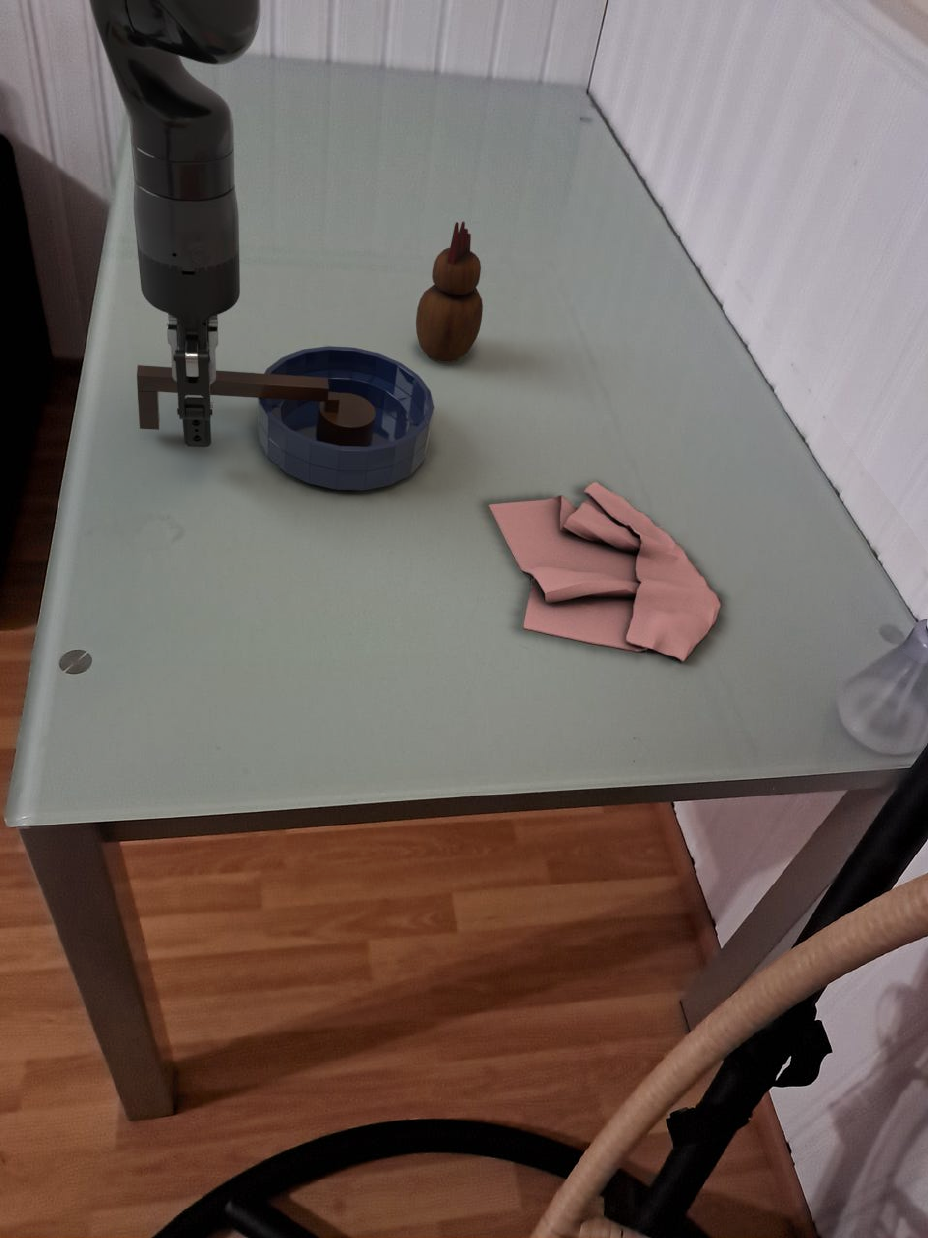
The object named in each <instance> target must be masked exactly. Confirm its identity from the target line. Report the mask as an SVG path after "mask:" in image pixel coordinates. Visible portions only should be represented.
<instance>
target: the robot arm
mask: <svg viewBox="0 0 928 1238" xmlns="http://www.w3.org/2000/svg"><path fill="white" fill-rule="evenodd" d="M261 1H262V0H89V1H88V2H89V5H90V10H91V13H92V16H93V20H94V24H95V27H96V29H97V32H98V35H99V38H100V42H101V44H102V47H103V50H104V53H105V55H106V59H107V61H108V64H109V67H110V69H111V72H112V75H113V78H114V82H115V84H116V88H117V90H118V93H119V96H120V98H121V101H122V103H123V106H124V109H125V112H126V115H127V118H128V123H129V124H128V125H129V135H130V145H131V146H130V147H131V156H132V157H131V158H132V167H133V178H134V187H133V188H134V190H133V191H134V192H133V215H134V216H133V217H134V226H135V235H136V245H137V247H136V248H137V257H138V268H139V269H138V270H139V279H140V288H141V294H142V295H143V297H144V299H145V300H146V302H148V303H149V304H150V305H151V306H152V307H153V308H155V309H156V310H159V311H160V312H162V313H166V314H167V319H168V322H167V323H166V327H167V328H166V334H167V343H168V344H169V345H170V351H171V354H170V355H171V367H172V377H173V379H174V380H175V381H176V382H177V392H178V393H177V407H178V408H176V415H177V416H178V418H179V420H182V429H183V443H184V445H185V446H187V447H189V448H207V447H210V446H211V445H212V429H211V428H212V426H211V418H212V417H211V416H213V406H214V405H213V401H211V400H212V399H211V395H210V385H211V384H212V383H214V382H215V381H216V370H217V359H216V357H217V356H216V354H217V353H216V349H217V348H218V347H219V315H221V314H223V313H226V312H227V311H229V310H230V309H232V308H233V307H234V306H235V305H236V304H237V302H238V301H239V299H240V294H241V286H240V285H241V277H240V275H241V274H240V269H241V268H240V218H239V216H240V215H239V206H238V200H237V193H236V192H237V191H236V184H235V183H236V181H235V178H236V177H235V131H234V129H235V128H234V119H233V113H232V109H231V108H230V106H229V104H228V103H227V101H226V100H225V99H224V98H223V97H222V96H221V95H220V94H219V93H217V92H216V91H215V90H213V89H212V88H210V87H209V86H207V85H205V84H204V83H203V82H202V81H200V80H198V79H197V78H196V77H195V76H193V75H192V74H191V73H190V72H189V70H188V69H186V66H184V63H183V62H182V60H181V57H182V58H185V59H187V60H190V61H194V62H197V63H201V64H204V65H211V66H221V65H228V64H231V63H233V62H234V61H236V60H238V59H240V58H241V57H242V56H243V55H244V54H245V53H246V52H247V51H248V50H249V49H250V47H251V46H252V44H253V43H254V41H255V38H256V37H257V34H258V29H259V27H260V21H261V14H262V13H261V10H262V4H261V3H262V2H261ZM195 396H197V397H195ZM198 396H199V397H198Z"/></svg>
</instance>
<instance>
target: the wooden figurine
mask: <svg viewBox="0 0 928 1238" xmlns="http://www.w3.org/2000/svg"><path fill="white" fill-rule="evenodd" d="M459 224H460V225H459ZM459 227H460V228H459ZM471 241H472V235H471V233H469V229H468V228H466V222H465V221H461V223H459V222H458V221H456V222H455V224H454V229H453V233H452V237H451V241H450V247H446V248H445V249H443V250H441V252H440V253H439V254H437V256H436V258H435V260H434V262H433V266H432V273H431V274H432V275H431V277H432V282H433V285H432V286H430V287H428V289H426V290H425V291H424V292H423V294H422V295H421V297H420V298H419V302H418V304H417V305H418V306H417V309H416V317H415V328H416V329H415V333H416V337H417V340H418V343H419V346H420V349H421V350H422V352H423V353H424V354H425V355H426V356H427V357H428V358H429V359H431V360H433V361H436V362H443V363H446V362H447V363H448V362H449V363H451V362H454V361H455V362H456V361H457V360H460V359H461V358H463V357H465V356H466V355H467V354H468V352H469V351H470V350H471V349H472V347H473V345H474V344H475V343H476V340H477V338H478V335H479V333H480V330H481V326H482V322H483V321H482V320H483V312H484V311H483V310H484V305H483V304H484V303H483V298H482V296H481V294H480V292H479V290H478V289H477V287H478V285H479V283H480V279H481V273H482V272H481V271H482V265H481V259H480V258H479V257H478V255H477V254H476V253H474V252H473V251H472V250H471V244H472V243H471Z"/></svg>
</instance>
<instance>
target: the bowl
mask: <svg viewBox="0 0 928 1238" xmlns="http://www.w3.org/2000/svg"><path fill="white" fill-rule="evenodd" d="M263 374H277V375H291V376H306V377H321V378H328V385H329V392H338V393H350V394H355V395H358V396H360V397H363V398H365V399H366V400H368V401H369V402H370V403H371V404H372V405H373V406H374V408H375V411H376V418H375V424H374V430H373V436H372V441H371V443H370V444H369V445H368V446H367V447H357V446H338V445H334V444H329V443H325V442H321V441H320V439H319V438H318V436H317V433H316V428H317V418H318V409H319V403H320V402H317V401H301V400H284V399H268V398H257V432H258V437H257V438H258V442H259V444H260V447H262V449H263V451H264V453H265V455H266V456H267V458H268V459H269V460H271V461H272V462H273V463H274V464H275V465H276V466H278V467H279V468H280V469H281V470H282V471H283V472H285V473H286V474H288V475H290V476H293V477H295V478H296V479H298V480H300V481H303V482H305V483H307V484H309V485H313V486H314V485H315V486H319V487H323V488H328V489H331V490H332V489H333V490H338V491H367V490H373V489H377V488H382V487H386V486H391V485H394V484H395V483H398V482H399V481H401V480H403V479H406V478H407V477H410V476H411V475H412V474H413V473H414V472H415V471H416V470H417V469H418V468H419V467H420V466H421V464H422V463H423V462H424V461H425V458H426V454H427V451H428V447H429V444H430V438H431V437H430V436H431V430H432V425H433V424H432V423H433V418H434V413H435V404H434V399H433V395H432V391H431V390H430V388H429V387H428V386H427V384H426V383H425V381H424V380H423V379H422V378H421V376H420V375H419V374H417V373H416V372H415V371H413V370H412V369H411V368H409V367H408V366H406V365H405V364H403V363H402V362H400V361H398V360H397V359H394V358H391V357H389V356H386V355H384V354H382V353H380V352H376V351H371V350H367V349H363V348H359V347H352V346H351V347H350V346H331V345H330V346H328V345H327V346H321V347H320V346H319V347H318V346H317V347H311V348H305V349H300V350H298V351H295V352H292V353H289V354H287V355H284V356H282V357H280V358H279V359H278V360H277V361H274V363H272V364H271V365H270V366H268V367H267V368H266V369H265V371H264V373H263Z"/></svg>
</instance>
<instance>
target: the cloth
mask: <svg viewBox="0 0 928 1238" xmlns="http://www.w3.org/2000/svg"><path fill="white" fill-rule="evenodd" d="M583 493H584V494H588V495H589V496H588V497H587V498H586V500H585V501H584V502H581V504H580V506H579V508H577V507H576V506H575V505H574V504H573V503H572V502H570V501H569V500H568V499H567V498H566V497H565V496H564V495H562V494H561V495H559V494H558V495H557V496H554V497H551V498H547V499H539V500H527V501H526V500H525V501H513V502H512V501H511V502H502V503H491V504H488V507H489V509H490V511H491V513H492V515H493V518H494V519H495V522H496V523H497V526H498V528H499V530H500V531H501V534H502V535H503V537H504V540H505V542H506V543H507V546H508V548H509V549H510V551H511V552H512V555H513V557H514V559H515V562H516V563H517V565H518V566H519V568H520V570H521V571H522V572H525V573H528V574H530V575H532V577H534V578H533V580H532V585H531V588H530V593H529V598H528V601H527V604H526V605H527V606H526V610H525V616H524V620H523V621H524V622H523V628H522V629H524V630H529V631H533V632H537V633H542V634H545V635H550V636H555V637H558V638H564V639H570V640H574V641H578V642H582V643H586V644H587V643H588V644H592V645H599V646H604V647H610V648H616V649H619V650H620V649H621V650H624V651H625V650H626V651H631V652H636V653H639V652H644V651H647V650H648V649H651V650H653V651H656V652H657V653H661V654H663V655H666V656H670V657H675V658H676V659H677V660H679V662H681V663H682V662H685V660H687V658H689V656H690V655H691V654H692V652H693V651H694V650H695V648H696V647H697V645H698V644H700V643H701V642H702V641H703V639H704V638H705V637H706V636H707V634H708V632H709V631H710V629H711V628H712V627H714V625H715V624H716V622H717V620H718V617H719V611H720V610H721V608H722V603H721V600H720V597H719V595H718V594H717V593H715V591H713V590H712V589H710V587H709V585H708V583H707V582H706V580H705V577H704V576H703V575H701V574H700V573H699V572H698V570H697V569H696V566H695V565H694V564H693V563H692V561H690V560H689V558H688V556H687V554H686V552H685V551H684V550H683V548H682V547H681V546H680V545H679V544H678V543H676V542H675V541H674V540H673V538H672V537H671V536H670V535H669V534H668V533H667V532H666V531H664V530H663V529H661V528H660V527H658V526H657V525H655V524H654V522H652V520H651V518H649V517H648V516H647V515H645V514H644V513H643V512H641V511H639V510H637V509H636V508H634V507H633V506H632V505H631V504H630V503H629V502H628V501H627V500H626V499H625V498H623V497H622V496H620V495H619V494H616V493H615V492H612V491H611V490H609V489H607V488H606V487H604V486H603V485H601V484H599V483H598V482H597V481H593V482H592V483H590V484H589V485H587V487H586V488H585V490H584V491H583Z"/></svg>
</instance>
